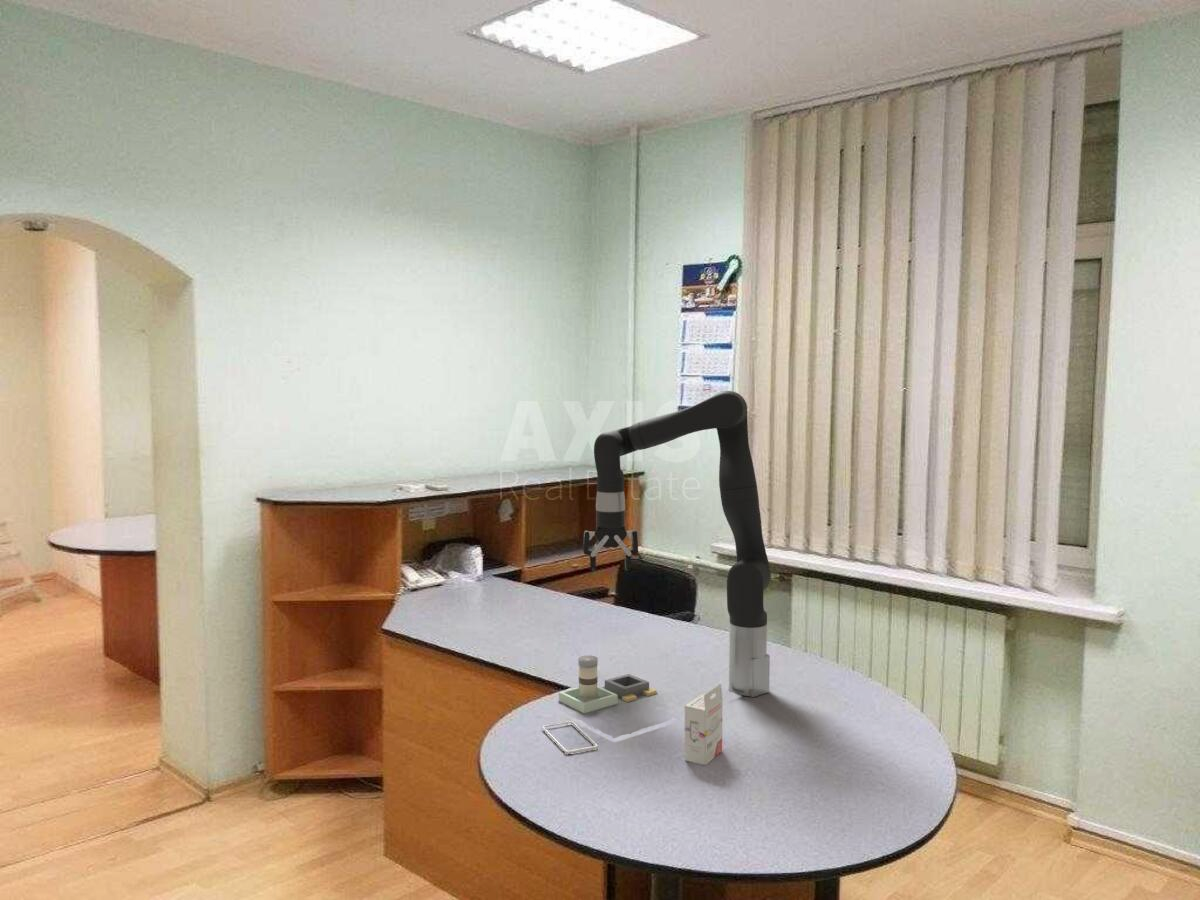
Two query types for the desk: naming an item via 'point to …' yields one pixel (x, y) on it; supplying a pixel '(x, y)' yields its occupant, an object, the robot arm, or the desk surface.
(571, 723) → the phone case
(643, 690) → the holder
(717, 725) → the ink cartridge box
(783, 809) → the desk surface
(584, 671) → the grey beige cylinder
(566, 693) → the tray
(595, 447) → the robot arm
